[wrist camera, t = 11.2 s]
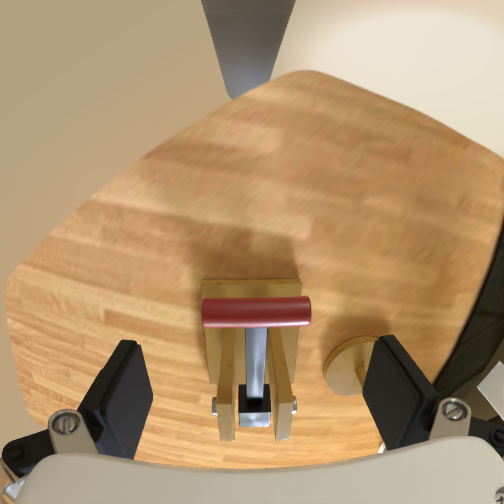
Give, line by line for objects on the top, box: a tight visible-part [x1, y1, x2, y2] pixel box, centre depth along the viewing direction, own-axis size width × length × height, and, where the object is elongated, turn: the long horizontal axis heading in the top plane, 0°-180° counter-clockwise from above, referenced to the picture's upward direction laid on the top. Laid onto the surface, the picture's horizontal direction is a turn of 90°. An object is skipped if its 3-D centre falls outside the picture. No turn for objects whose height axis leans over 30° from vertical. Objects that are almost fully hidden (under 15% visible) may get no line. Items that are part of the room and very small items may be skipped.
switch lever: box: [201, 296, 311, 427], centre depth 17 cm, size 12×5×2 cm, turn 0°
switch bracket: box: [201, 279, 302, 441], centre depth 23 cm, size 12×9×12 cm
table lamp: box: [323, 336, 378, 396], centre depth 19 cm, size 10×10×25 cm
